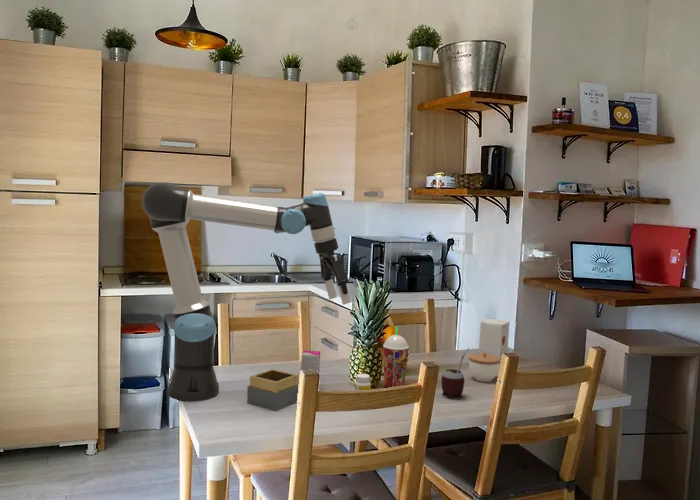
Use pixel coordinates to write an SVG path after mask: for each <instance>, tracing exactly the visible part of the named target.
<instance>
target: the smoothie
mask: <svg viewBox="0 0 700 500" xmlns="http://www.w3.org/2000/svg"><path fill="white" fill-rule="evenodd" d="M398 331H399V327H398V326H395V334H392V335H390V336H388V338H386V340H385V342H384V343H383V344H382V347H383V348H382V349H383V350H382V351H383V383H384V385H385V388H387V387H392V386H400V385H403V386H404V385H405V383H406V375H407V365H408V358H409V357H408V356H409V349H410V346H409V344H408V342H407V340H406V339H405V338H404V337H403V336H402V335H399V334H398Z"/></svg>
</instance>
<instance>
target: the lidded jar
mask: <svg viewBox="0 0 700 500" xmlns="http://www.w3.org/2000/svg"><path fill="white" fill-rule="evenodd" d="M500 360H501V359H500V358H499V357H497V356H495V355H490V354H486V352H484V353H483V354H482V353H479V352H478V353H471V354H469V356H468V368H469V369H468V370H469V372H470V374H471V376H472V377H473V378H474V380H475V381H478V382H484V383H487V382H492V381H493V380H494V379H495V378H496V377H498V374H499V372H498V371H500V368H499V367H500V366H501V362H500Z"/></svg>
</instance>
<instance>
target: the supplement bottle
mask: <svg viewBox="0 0 700 500" xmlns="http://www.w3.org/2000/svg"><path fill="white" fill-rule="evenodd" d="M355 378H356V379H355V380H356V381H355V382H354V391H355V390H370V389H371V387H372V384H371V382H370V381H371V377H370V374H368V373H367V374H366V373H358V374H356V376H355ZM371 390H372V389H371Z"/></svg>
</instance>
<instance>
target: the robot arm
mask: <svg viewBox="0 0 700 500" xmlns="http://www.w3.org/2000/svg"><path fill="white" fill-rule="evenodd" d="M141 197H142V199H141V204H142V205H141V206H142V208H143V211H144V212H145V214H146V215H147V216H148V219H149V221H150V222H149V223H150V225H151V227H150V228H151V230H153V231H154V232H156V233H157V234H158V238H159V241H160V242H159V243H160V246H161V249H162V254H163V258H164V262H165V265H166V269H167V275H168V279H169V283H170V286H171V290H172V295H173V298H174V303H175V307H174V309H173V310H172V315H173V319H174V327H173V333H174V343H173V344H174V347H173V348H174V355H173V359H174V360H173V371H172V374H171V379H170V382H169V384H168V386H167V395H168V397H169V398H170V399H174V400H178V401H186V402H187V401H189V402H192V401H203V400H208V399H212V398H214V397H216V396H217V395H219V393H220V384H219V382H218V379H217V376H216V372H215V369H214V361H215V358H214V356H215V355H214V354H215V352H214V351H215V349H214V348H215V334H216V321H215V319H214V317H213V315H212V310H211V306H210V304H209V302H208V301H206V300H205V299H204V298H203V294H202V291H201V287H200V286H201V285H200V282H199V278H198V274H197V273H198V272H197V269H196V264H195V260H194V257H193V253H192V248H191V245H190V241H189V236H188V233H187V232H188V231H187V226H188V224H189V222H190V220H193V221H194V220H195V221H201V222H208V223H216V224H223V225H230V226H239V227H246V228H252V229H259V230H266V231H267V230H268V231H273V232H274V233H275V234H281V233H287V234H289V235H296V234H299V233H301V232H302V231H303V230H304V229H305V227H308V226H309V229H310V233H311V237H312V241H313V242H314V248H315V252H316V254H318V257H319V265H320V274H321V275H320V276H321V279H323V281H324V284H325V289H326V292H327V296H328V299H329V300H334V299H336V298H337V297H338V296H337V292H336V288H335V284H334V280H333V279H334V278H335V279H336V280H337V281H336V282H337V284H336V286H337V287H338V291H339V295H340V298H341V299H340V300H341V303H342V305H343V306H344V305H347V304H349V303H352V301H351V297H350V293H349V288H348V285H347V283H349V279H348V276H347V274H346V271H345V268H344V267H343V264H342V262H341V258H340V254H338V253H337V254H336V253H335V251H337V250H338V249H339V244H338V240H337V238H336V233H335V230H336V227H335V226H334V224H333V221H332V215H331V211H330V208H329V204H328V201H327V200H328V199H327V197H326V195H325V194H324V193H323V192H318V193H314V194H310V195H306V196H304V197H303V198H302V200H303V201H302V202H303V203H300V204H296V205H291V206H286V207H283V206H277V205H271V204H270V205H269V204H263V203H257V202H256V203H255V202H250V201H242V200H236V199H231V198H222V197H215V196H210V195H202V194H197V193H195V194H194V193H193V191H192V190H191V189H185V188H180V187H178V186H177V184H174V183H171V182H168V181H167V182H158V183H157V182H156V183H153V184H151V185H150V186H148V187H147V188H146V189H145V191H144V192H143V194H142V196H141ZM332 274H333V275H332ZM333 276H334V277H333Z"/></svg>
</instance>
